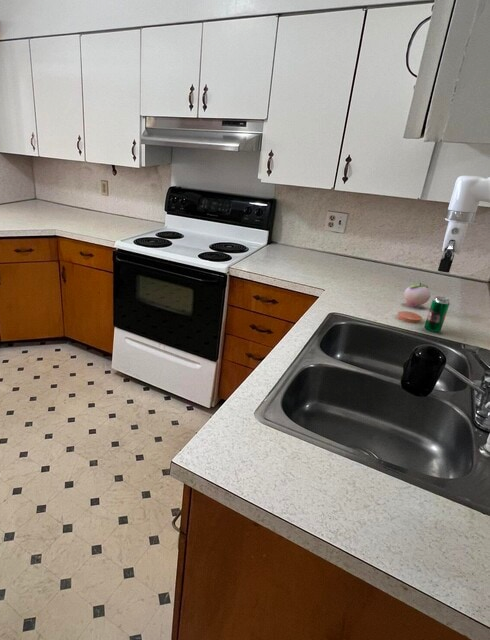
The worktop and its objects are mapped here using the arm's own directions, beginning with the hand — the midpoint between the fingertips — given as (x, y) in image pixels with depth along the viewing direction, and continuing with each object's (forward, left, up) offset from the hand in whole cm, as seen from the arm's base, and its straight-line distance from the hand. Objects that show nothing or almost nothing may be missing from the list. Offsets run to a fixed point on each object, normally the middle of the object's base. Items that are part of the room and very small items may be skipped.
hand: (444, 268), depth 141 cm
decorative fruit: (+6, -23, -23) cm, 33 cm away
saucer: (+6, -7, -23) cm, 24 cm away
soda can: (-2, -1, -23) cm, 23 cm away
